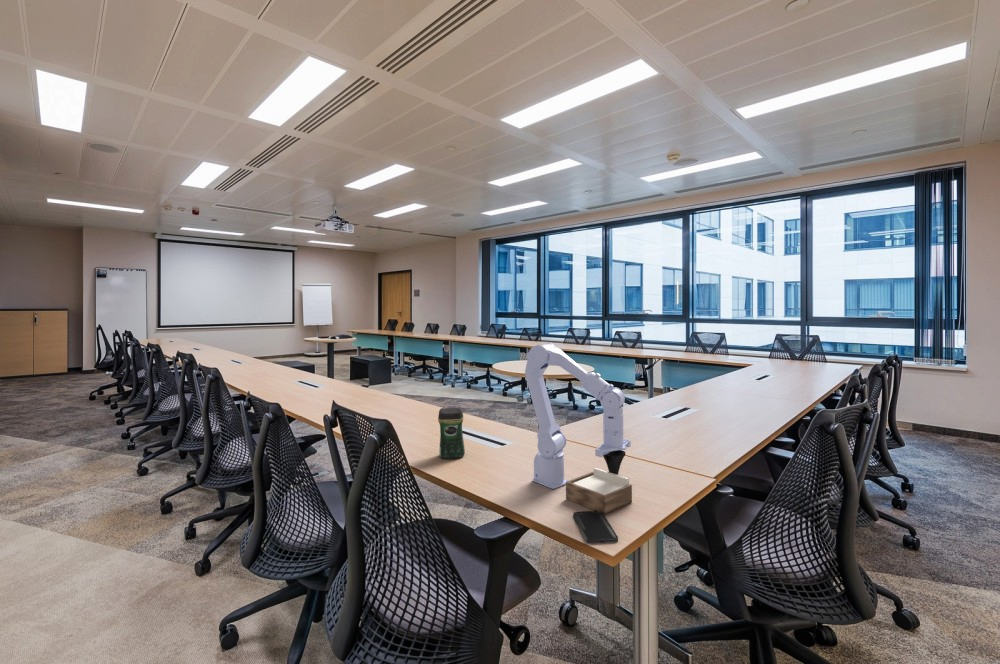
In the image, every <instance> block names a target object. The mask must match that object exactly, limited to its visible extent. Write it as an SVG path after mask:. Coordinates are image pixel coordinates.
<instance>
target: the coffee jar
mask: <svg viewBox="0 0 1000 664" xmlns="http://www.w3.org/2000/svg"><path fill="white" fill-rule="evenodd" d="M437 416H438V418H437V421H438V423H439V428H440V429H439V437H440V438H439V458H441V459H443V460H444V459H446V460H448V459H449V460H451V459H461V458H462V457H464V456H465V454H466V453H465V451H466V450H465V449H466V448H465V443H464V442H465V441H464V435H463V434H464V433H463V422H464V412H463V409H462V407H460V406H459V407H443V408H440V409H439V411H438V415H437Z"/></svg>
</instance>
